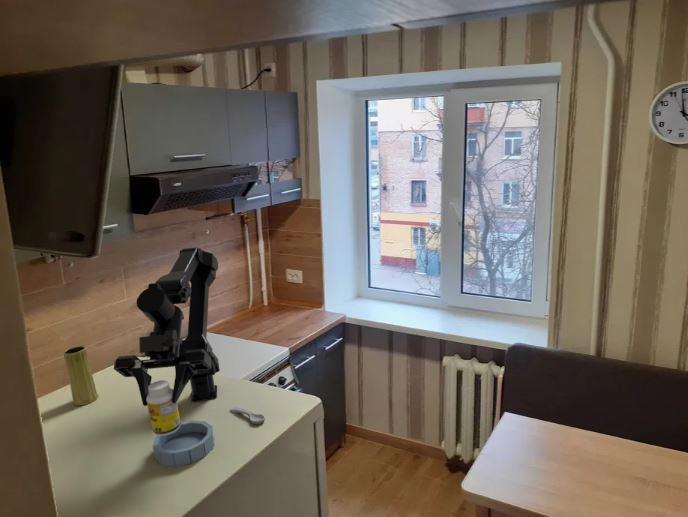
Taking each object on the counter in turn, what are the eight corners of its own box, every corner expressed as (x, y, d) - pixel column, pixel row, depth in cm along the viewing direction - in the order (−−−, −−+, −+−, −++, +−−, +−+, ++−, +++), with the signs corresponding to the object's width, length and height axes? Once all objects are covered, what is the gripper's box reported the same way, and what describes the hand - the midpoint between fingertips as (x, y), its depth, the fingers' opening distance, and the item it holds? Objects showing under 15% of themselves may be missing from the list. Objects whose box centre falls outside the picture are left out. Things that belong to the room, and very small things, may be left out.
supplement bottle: (150, 428, 109) (140, 384, 106) (177, 419, 111) (168, 375, 109) (157, 440, 104) (147, 394, 101) (184, 430, 107) (175, 385, 104)
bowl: (159, 439, 115) (157, 427, 115) (215, 428, 118) (212, 416, 117) (152, 471, 104) (149, 458, 103) (213, 458, 106) (211, 445, 106)
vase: (103, 394, 140) (92, 344, 137) (88, 406, 134) (77, 354, 131) (83, 394, 141) (71, 345, 138) (67, 406, 136) (55, 355, 132)
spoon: (258, 428, 116) (256, 419, 116) (228, 415, 125) (226, 408, 124) (268, 422, 119) (267, 414, 118) (238, 410, 127) (237, 402, 127)
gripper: (107, 320, 106) (94, 397, 98) (198, 312, 105) (192, 388, 98) (130, 341, 115) (120, 412, 108) (214, 333, 115) (209, 404, 107)
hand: (159, 404), depth 105 cm, fingers closed on supplement bottle, 6 cm apart
